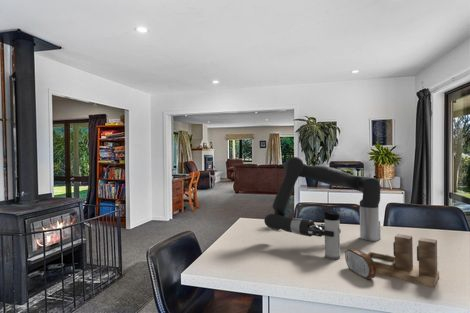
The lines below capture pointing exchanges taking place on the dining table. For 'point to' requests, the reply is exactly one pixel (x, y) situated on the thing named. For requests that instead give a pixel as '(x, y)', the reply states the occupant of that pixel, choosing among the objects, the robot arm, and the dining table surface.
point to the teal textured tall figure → (288, 209)
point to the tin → (360, 263)
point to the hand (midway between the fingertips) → (336, 232)
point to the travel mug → (332, 242)
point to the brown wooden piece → (409, 261)
